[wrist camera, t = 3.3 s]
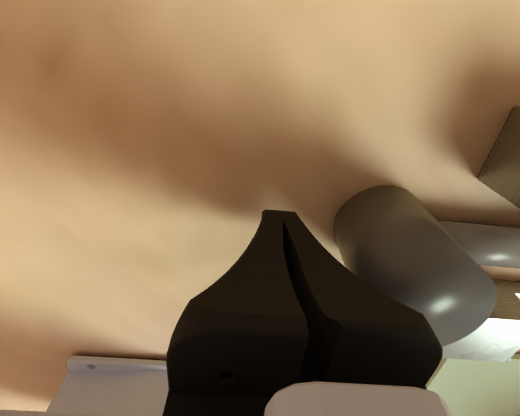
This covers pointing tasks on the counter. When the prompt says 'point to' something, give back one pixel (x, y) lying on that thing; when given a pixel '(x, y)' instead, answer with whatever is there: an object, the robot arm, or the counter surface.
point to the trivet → (478, 386)
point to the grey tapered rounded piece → (425, 258)
